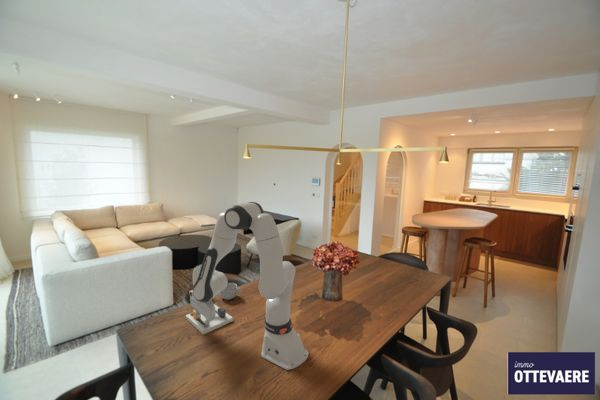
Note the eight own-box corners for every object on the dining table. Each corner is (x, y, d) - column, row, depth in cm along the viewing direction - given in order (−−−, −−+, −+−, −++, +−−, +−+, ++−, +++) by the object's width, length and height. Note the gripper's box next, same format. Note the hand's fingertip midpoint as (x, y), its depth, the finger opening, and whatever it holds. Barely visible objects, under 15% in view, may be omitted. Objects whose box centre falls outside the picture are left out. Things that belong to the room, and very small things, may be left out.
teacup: (216, 298, 168) (215, 286, 167) (228, 292, 177) (228, 280, 176) (233, 304, 161) (232, 292, 160) (244, 297, 171) (244, 285, 170)
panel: (232, 320, 144) (232, 311, 144) (203, 334, 132) (202, 324, 131) (214, 307, 158) (214, 298, 157) (185, 318, 145) (185, 309, 145)
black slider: (225, 315, 145) (225, 309, 144) (221, 317, 143) (221, 311, 142) (221, 313, 147) (221, 307, 147) (217, 314, 146) (217, 308, 145)
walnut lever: (210, 315, 145) (217, 298, 147) (206, 315, 143) (214, 297, 145) (208, 313, 147) (215, 296, 149) (204, 313, 145) (211, 295, 147)
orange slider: (200, 317, 142) (200, 311, 142) (196, 319, 140) (195, 313, 140) (197, 314, 145) (197, 308, 145) (192, 316, 143) (192, 310, 143)
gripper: (218, 300, 131) (218, 326, 133) (199, 286, 145) (199, 310, 146) (206, 304, 126) (207, 331, 128) (187, 290, 140) (188, 314, 142)
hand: (202, 320), depth 137 cm, fingers open, 8 cm apart
